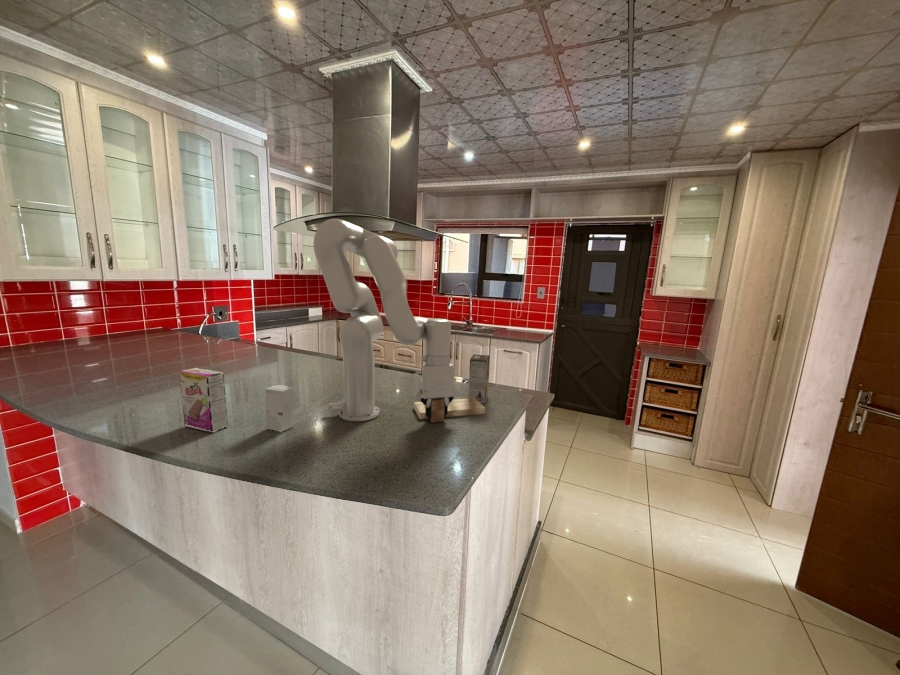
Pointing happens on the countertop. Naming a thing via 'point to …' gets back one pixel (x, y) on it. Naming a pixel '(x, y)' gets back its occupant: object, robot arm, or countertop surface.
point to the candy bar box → (203, 398)
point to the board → (454, 408)
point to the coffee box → (479, 377)
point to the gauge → (437, 409)
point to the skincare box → (279, 407)
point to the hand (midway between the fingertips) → (436, 416)
